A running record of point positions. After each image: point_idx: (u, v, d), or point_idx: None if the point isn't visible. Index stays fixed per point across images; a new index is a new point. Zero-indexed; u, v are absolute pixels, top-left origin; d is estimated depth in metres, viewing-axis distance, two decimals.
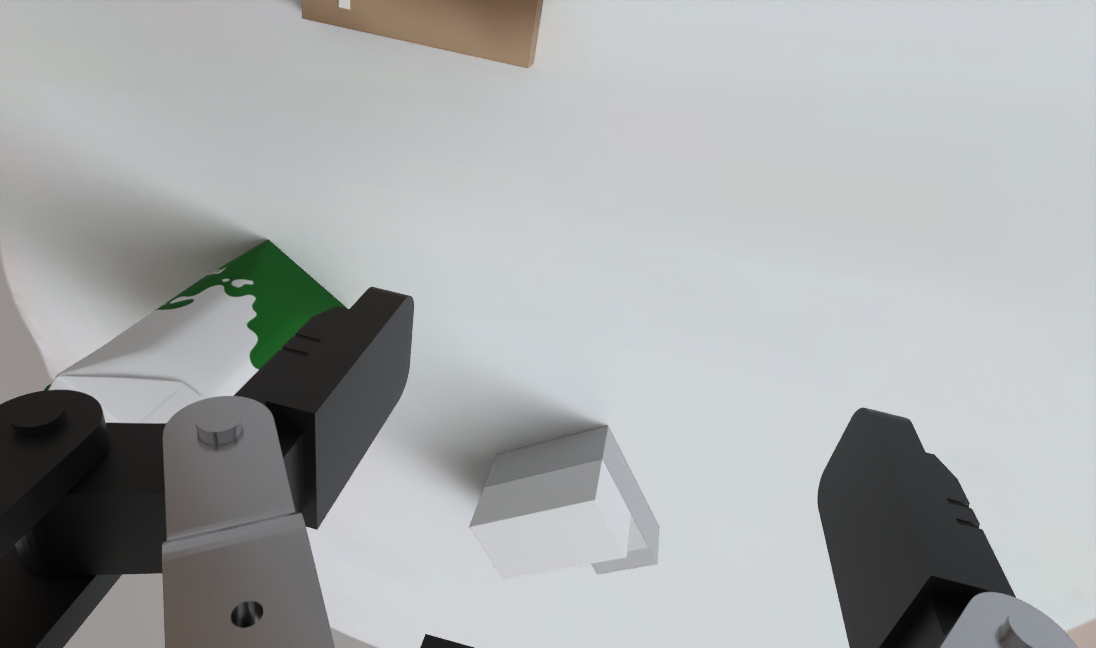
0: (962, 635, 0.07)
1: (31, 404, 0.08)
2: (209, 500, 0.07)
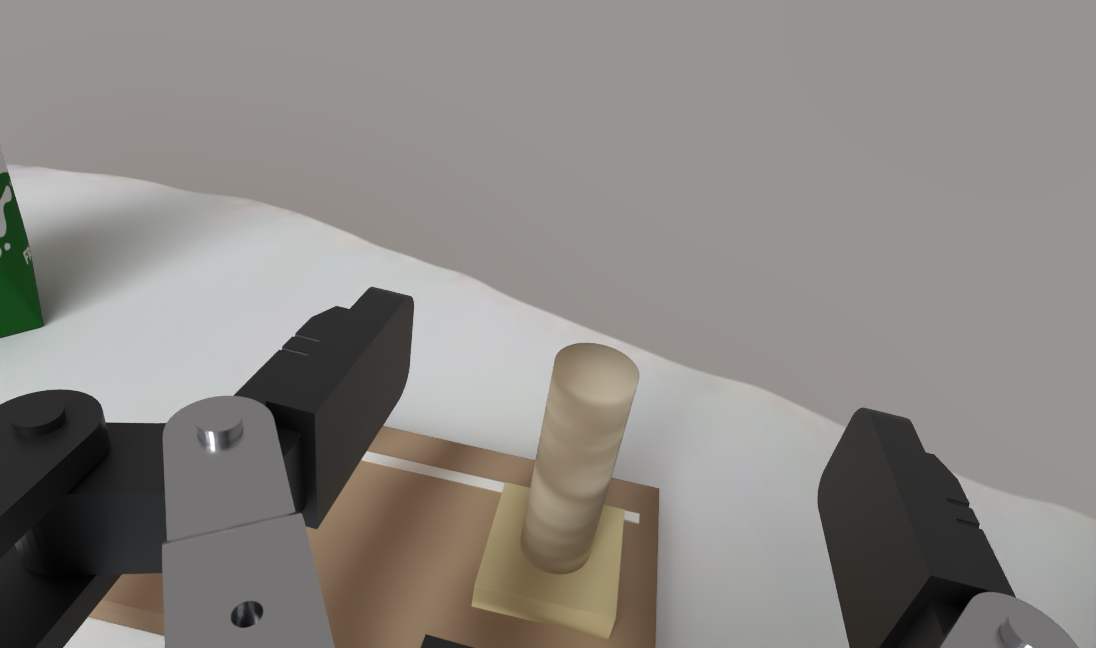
0: (962, 635, 0.07)
1: (31, 404, 0.08)
2: (209, 500, 0.07)
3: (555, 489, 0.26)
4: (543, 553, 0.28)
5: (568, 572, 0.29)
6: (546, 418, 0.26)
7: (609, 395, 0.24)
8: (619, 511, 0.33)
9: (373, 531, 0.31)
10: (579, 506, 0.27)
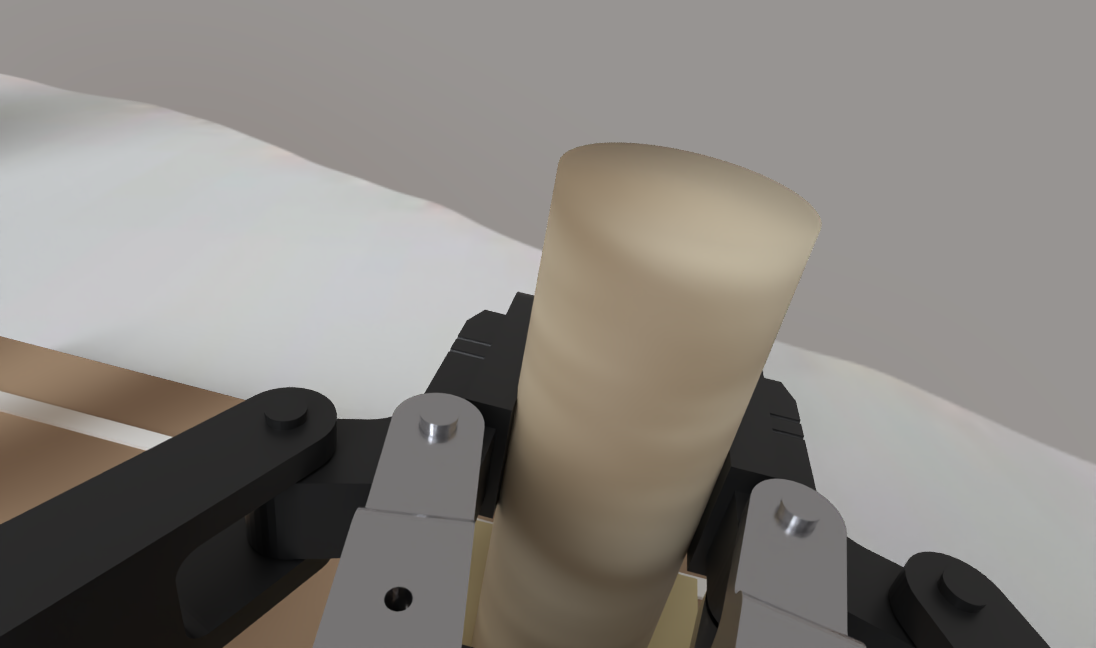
0: (753, 530, 0.08)
1: (284, 399, 0.08)
2: (454, 488, 0.08)
3: (552, 552, 0.10)
4: None
5: None
6: (530, 348, 0.09)
7: (746, 248, 0.07)
8: (687, 582, 0.16)
9: None
10: (616, 598, 0.10)
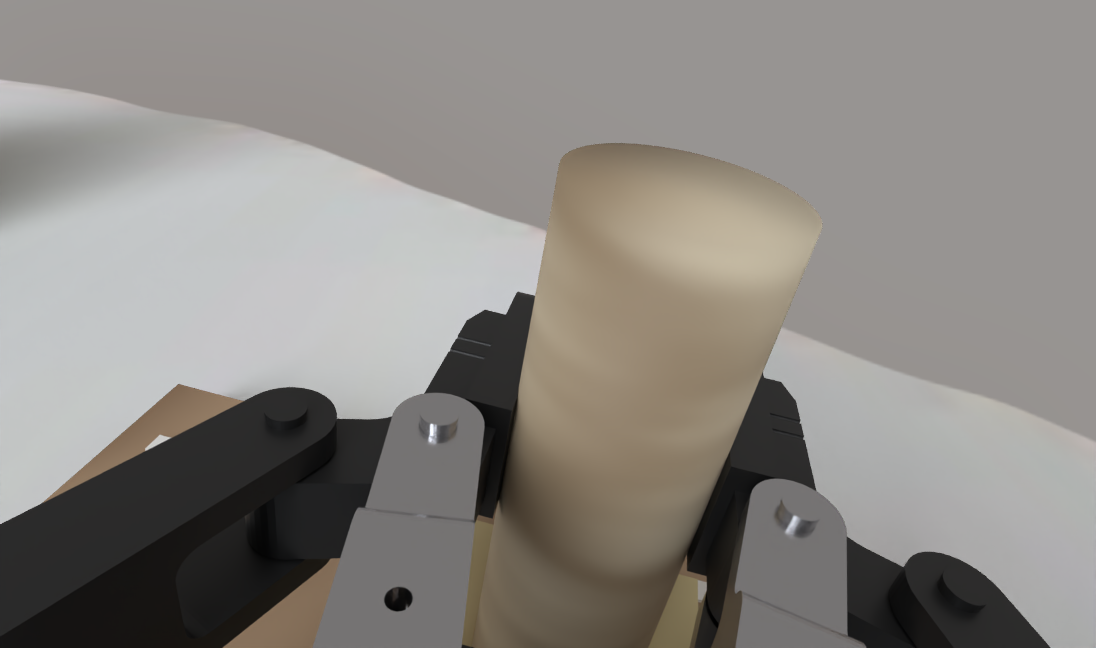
0: (753, 530, 0.08)
1: (285, 398, 0.08)
2: (454, 488, 0.08)
3: (552, 552, 0.10)
4: None
5: None
6: (531, 348, 0.09)
7: (746, 249, 0.07)
8: (688, 582, 0.16)
9: None
10: (617, 598, 0.10)
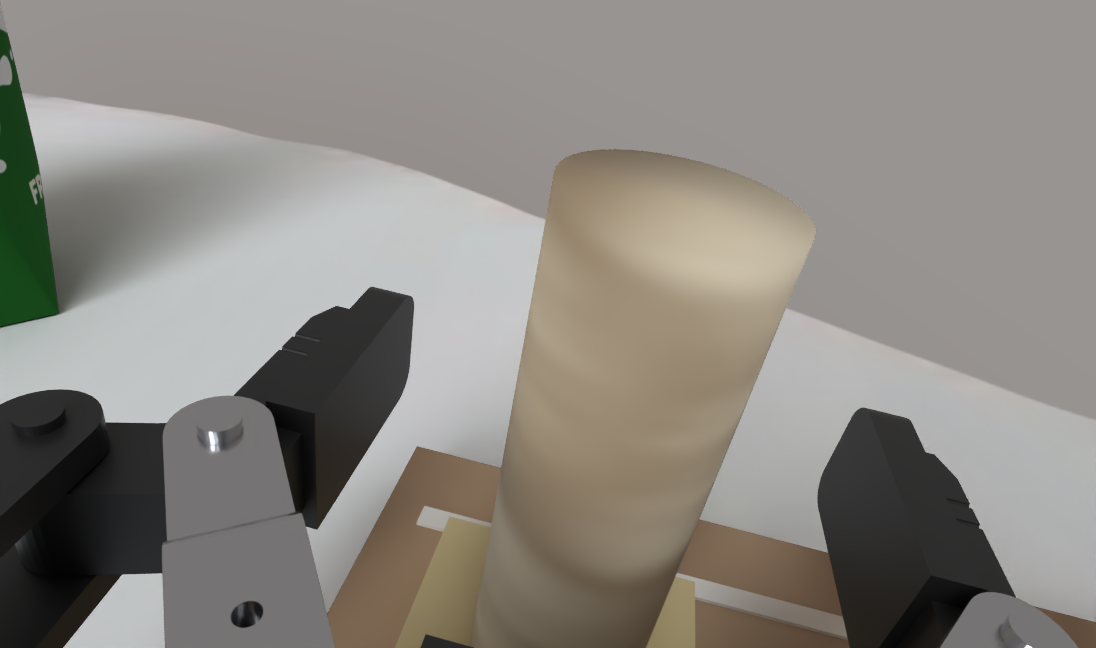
0: (962, 635, 0.07)
1: (31, 404, 0.08)
2: (209, 500, 0.07)
3: (548, 556, 0.10)
4: None
5: None
6: (527, 354, 0.09)
7: (739, 256, 0.07)
8: (685, 585, 0.16)
9: None
10: (613, 603, 0.10)
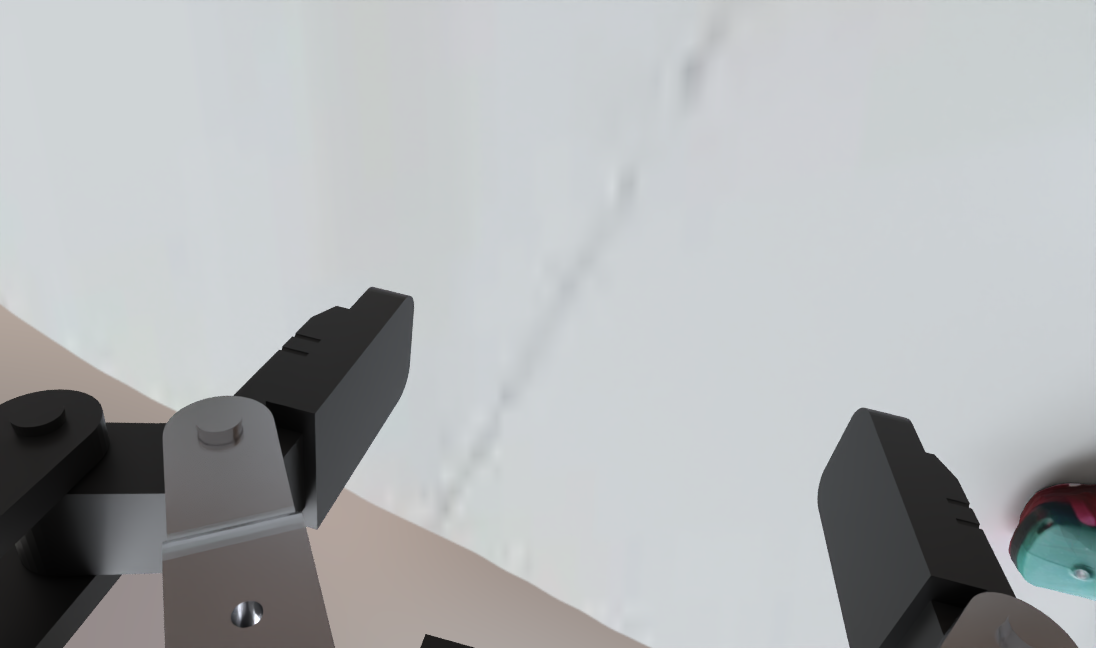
0: (962, 635, 0.07)
1: (31, 405, 0.08)
2: (209, 500, 0.07)
3: None
4: None
5: None
6: None
7: None
8: None
9: None
10: None
